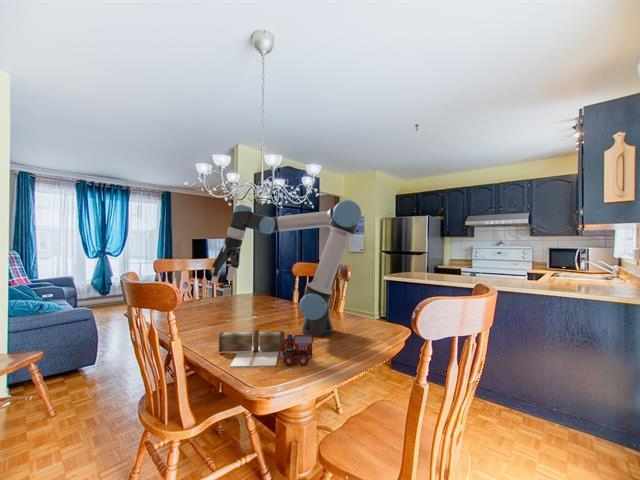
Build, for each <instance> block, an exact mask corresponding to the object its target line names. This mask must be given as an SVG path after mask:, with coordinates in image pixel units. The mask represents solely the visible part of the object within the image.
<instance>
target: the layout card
mask: <svg viewBox="0 0 640 480" xmlns="http://www.w3.org/2000/svg"><path fill="white" fill-rule="evenodd" d="M278 357H279V351H260V345H259V351H258V352H253V345H252V351H237V353H236V355H235V357H234V358H233V360H232V361H231V364H230V365H229V368H249V367H250V368H251V367H252V368H253V367H254V368H258V367H259V368H260V367H276V366H277V364H278V363H277V362H278V359H279V358H278Z"/></svg>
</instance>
